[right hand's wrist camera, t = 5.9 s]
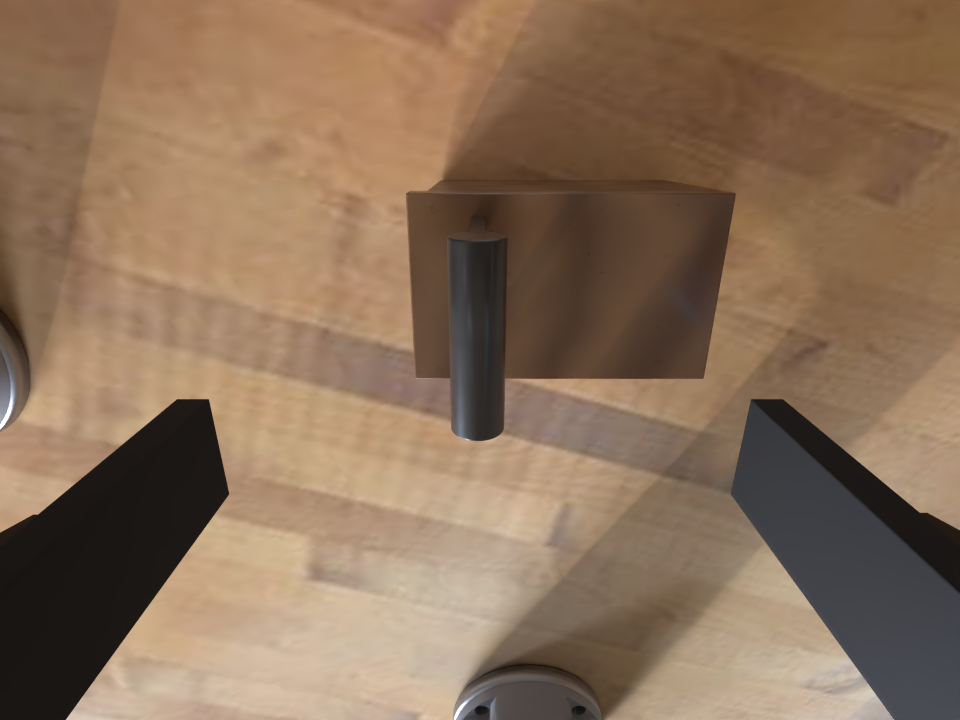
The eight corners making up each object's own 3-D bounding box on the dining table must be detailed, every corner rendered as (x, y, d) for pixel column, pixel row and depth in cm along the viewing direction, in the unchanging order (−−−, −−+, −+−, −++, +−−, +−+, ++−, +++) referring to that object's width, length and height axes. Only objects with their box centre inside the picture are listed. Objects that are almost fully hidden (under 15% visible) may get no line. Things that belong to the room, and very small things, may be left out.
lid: (417, 370, 30) (391, 461, 21) (408, 191, 26) (373, 212, 18) (695, 371, 30) (783, 462, 21) (726, 191, 26) (847, 212, 18)
